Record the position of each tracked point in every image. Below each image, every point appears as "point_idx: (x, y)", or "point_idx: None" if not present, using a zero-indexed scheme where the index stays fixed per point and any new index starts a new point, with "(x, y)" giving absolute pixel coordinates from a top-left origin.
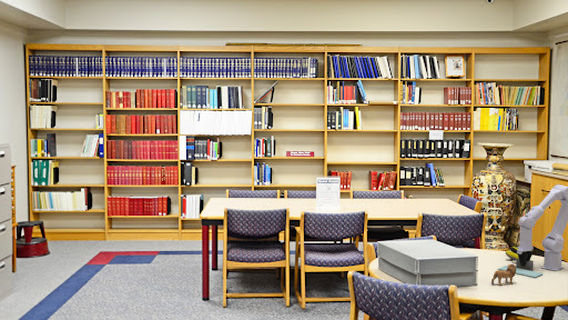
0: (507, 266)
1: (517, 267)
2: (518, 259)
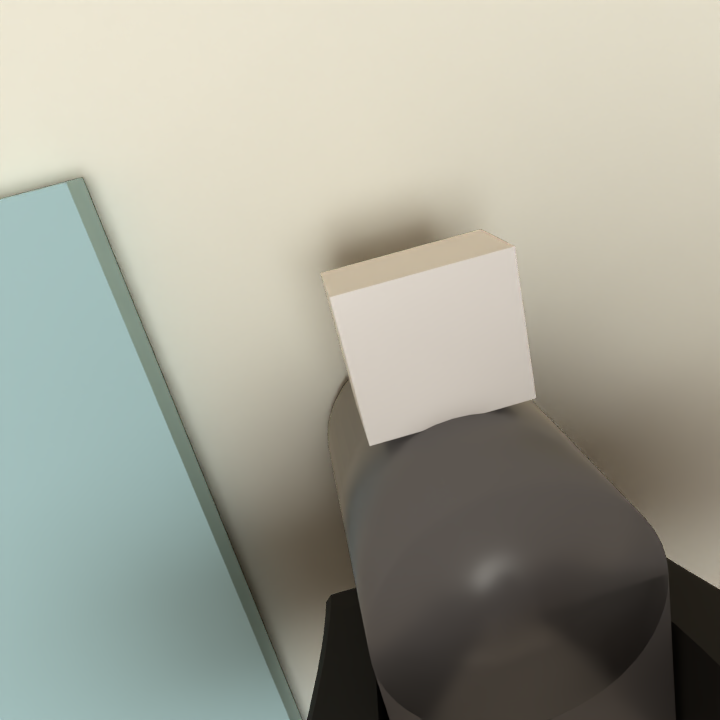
0: (17, 306)
1: (329, 440)
2: (375, 657)
